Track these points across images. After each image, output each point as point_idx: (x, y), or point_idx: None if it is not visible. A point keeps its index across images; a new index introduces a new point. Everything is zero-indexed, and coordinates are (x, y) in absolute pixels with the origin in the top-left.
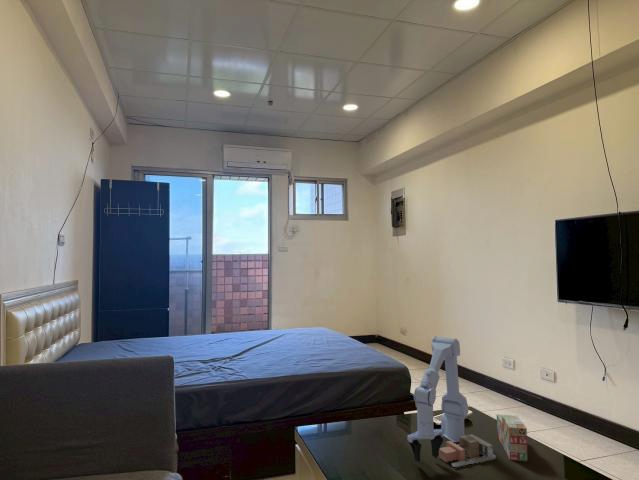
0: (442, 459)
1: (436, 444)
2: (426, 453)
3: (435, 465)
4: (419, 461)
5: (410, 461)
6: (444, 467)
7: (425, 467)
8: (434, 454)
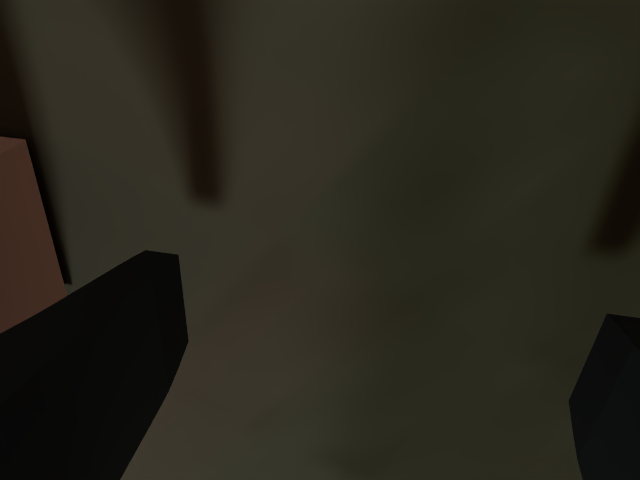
0: (43, 230)
1: None
2: (175, 439)
3: (261, 159)
4: (615, 318)
5: (541, 424)
6: (140, 14)
7: (488, 193)
8: (157, 325)
